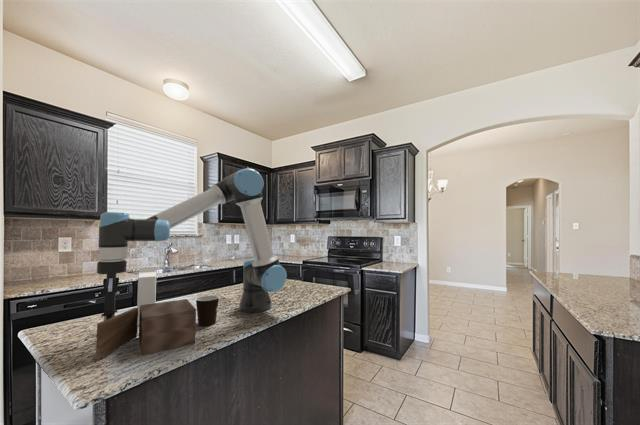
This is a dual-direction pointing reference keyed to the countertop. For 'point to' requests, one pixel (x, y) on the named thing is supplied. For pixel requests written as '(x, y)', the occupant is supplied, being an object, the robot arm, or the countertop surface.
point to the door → (116, 332)
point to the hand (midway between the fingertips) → (108, 335)
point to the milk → (146, 288)
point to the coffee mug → (207, 310)
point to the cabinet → (166, 326)
